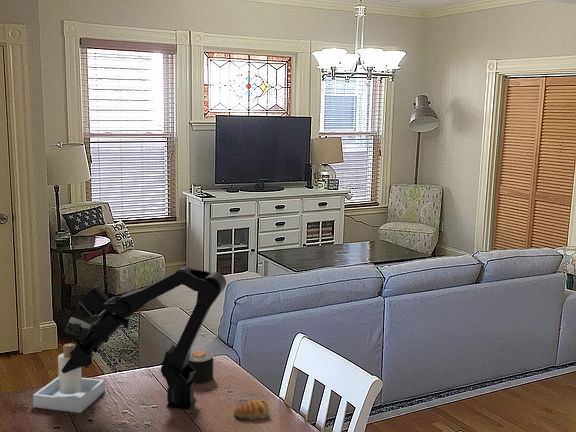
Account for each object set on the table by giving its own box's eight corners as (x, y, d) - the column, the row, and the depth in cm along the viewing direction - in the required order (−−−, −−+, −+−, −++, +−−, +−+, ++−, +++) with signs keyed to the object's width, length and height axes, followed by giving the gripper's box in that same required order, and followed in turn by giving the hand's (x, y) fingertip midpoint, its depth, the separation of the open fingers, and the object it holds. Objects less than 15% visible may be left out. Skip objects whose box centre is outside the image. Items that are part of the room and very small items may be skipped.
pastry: (237, 422, 171) (237, 409, 171) (231, 411, 178) (231, 398, 177) (271, 418, 174) (271, 405, 174) (264, 407, 181) (264, 394, 180)
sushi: (179, 378, 198) (179, 354, 197) (199, 370, 205) (199, 346, 203) (198, 386, 193) (198, 360, 192) (218, 377, 200) (218, 352, 199)
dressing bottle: (85, 386, 184) (84, 342, 182) (75, 395, 178) (73, 350, 176) (66, 384, 185) (64, 340, 183) (55, 393, 179) (53, 348, 177)
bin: (105, 391, 188) (104, 380, 187) (80, 412, 174) (80, 400, 174) (60, 386, 190) (60, 375, 190) (33, 407, 177) (32, 395, 176)
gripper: (87, 299, 188) (49, 337, 188) (77, 319, 170) (34, 361, 170) (116, 324, 190) (78, 362, 190) (108, 347, 172) (67, 388, 172)
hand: (64, 367), depth 181 cm, fingers closed on dressing bottle, 6 cm apart
